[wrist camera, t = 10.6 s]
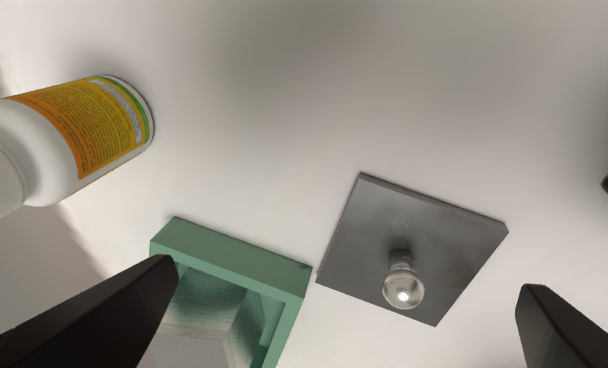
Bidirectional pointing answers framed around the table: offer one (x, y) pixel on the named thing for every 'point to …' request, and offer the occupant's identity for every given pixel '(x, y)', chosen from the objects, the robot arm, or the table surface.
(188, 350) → the grey metal cube
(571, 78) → the table surface
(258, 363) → the tray
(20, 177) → the supplement bottle
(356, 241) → the stud plate
